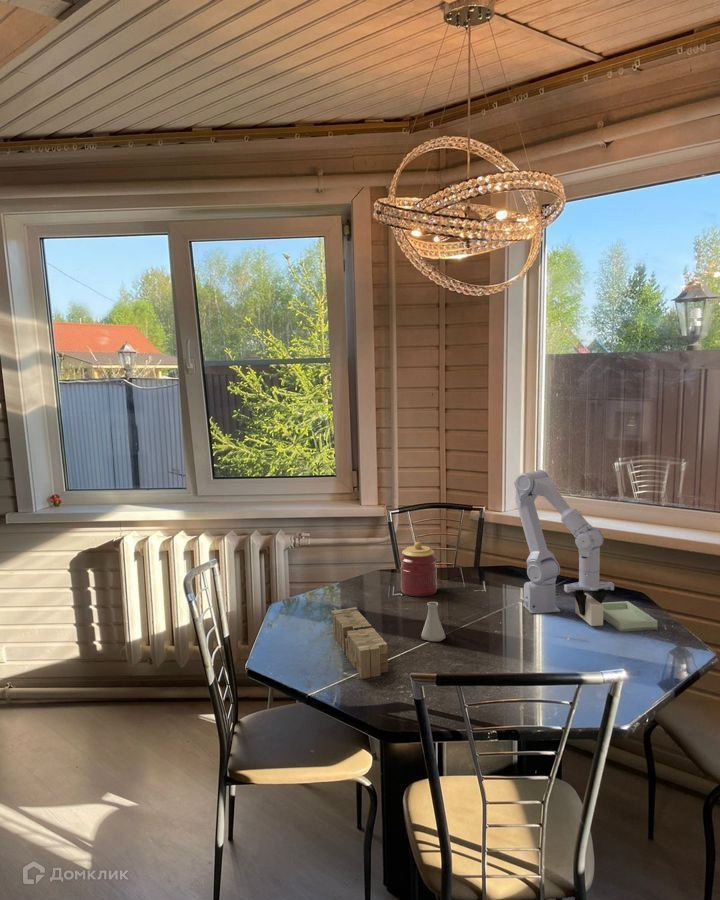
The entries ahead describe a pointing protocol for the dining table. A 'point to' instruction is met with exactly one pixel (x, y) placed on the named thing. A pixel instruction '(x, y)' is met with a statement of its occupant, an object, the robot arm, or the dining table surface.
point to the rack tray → (627, 617)
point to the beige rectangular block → (591, 611)
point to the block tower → (360, 642)
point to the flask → (433, 625)
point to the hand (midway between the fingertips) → (588, 614)
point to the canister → (418, 571)
